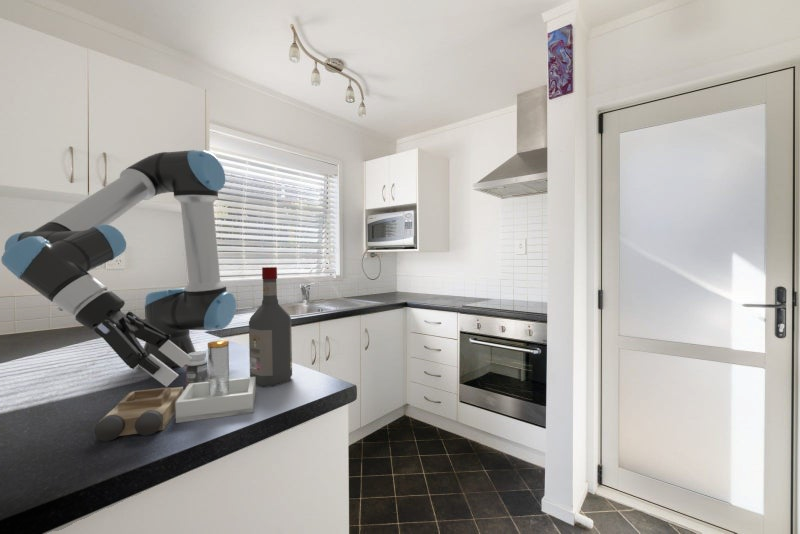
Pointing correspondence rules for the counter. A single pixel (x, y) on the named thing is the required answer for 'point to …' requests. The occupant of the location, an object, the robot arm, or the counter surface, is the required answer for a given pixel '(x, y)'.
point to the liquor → (270, 336)
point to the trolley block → (139, 413)
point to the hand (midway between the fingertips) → (180, 371)
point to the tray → (216, 400)
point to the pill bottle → (196, 368)
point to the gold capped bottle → (218, 368)
